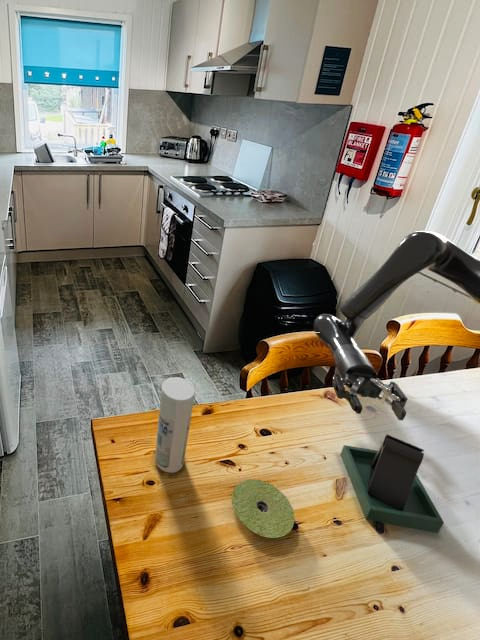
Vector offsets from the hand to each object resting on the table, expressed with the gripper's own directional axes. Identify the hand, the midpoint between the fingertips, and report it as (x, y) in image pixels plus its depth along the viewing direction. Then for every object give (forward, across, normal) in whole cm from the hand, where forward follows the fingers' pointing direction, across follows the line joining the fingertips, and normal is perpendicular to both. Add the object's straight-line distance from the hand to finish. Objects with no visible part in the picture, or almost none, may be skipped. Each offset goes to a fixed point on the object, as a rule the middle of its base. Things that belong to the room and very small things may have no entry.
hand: (381, 414), depth 85 cm
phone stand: (+10, 0, +10) cm, 14 cm away
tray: (+10, 0, +11) cm, 15 cm away
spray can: (+12, -44, +11) cm, 47 cm away
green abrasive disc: (+20, -26, +11) cm, 35 cm away
